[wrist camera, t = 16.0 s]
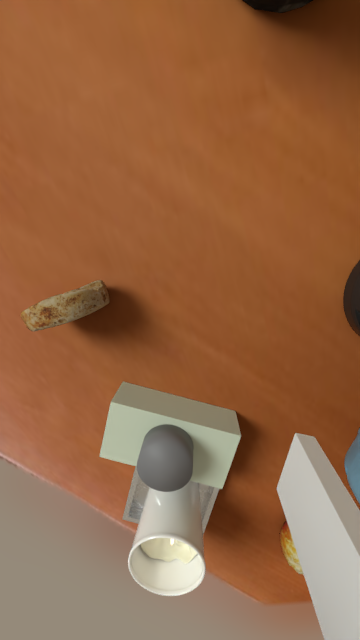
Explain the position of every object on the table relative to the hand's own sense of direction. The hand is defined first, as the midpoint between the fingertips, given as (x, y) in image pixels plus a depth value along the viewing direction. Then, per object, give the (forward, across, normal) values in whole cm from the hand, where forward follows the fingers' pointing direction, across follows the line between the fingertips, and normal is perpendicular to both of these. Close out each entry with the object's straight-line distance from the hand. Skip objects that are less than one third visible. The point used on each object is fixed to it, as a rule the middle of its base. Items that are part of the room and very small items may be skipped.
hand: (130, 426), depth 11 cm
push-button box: (+29, -2, +19) cm, 35 cm away
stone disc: (+29, +14, +2) cm, 32 cm away
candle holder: (+29, -5, +31) cm, 43 cm away
